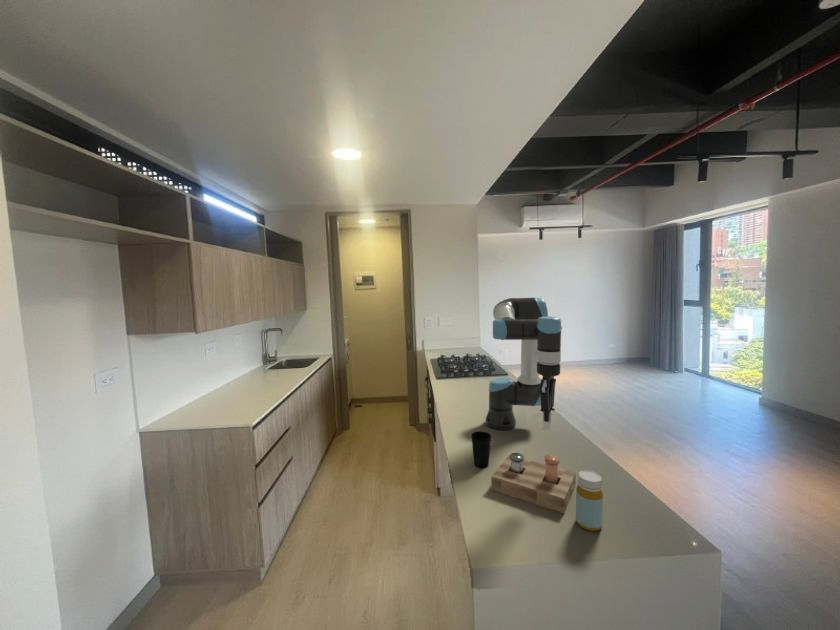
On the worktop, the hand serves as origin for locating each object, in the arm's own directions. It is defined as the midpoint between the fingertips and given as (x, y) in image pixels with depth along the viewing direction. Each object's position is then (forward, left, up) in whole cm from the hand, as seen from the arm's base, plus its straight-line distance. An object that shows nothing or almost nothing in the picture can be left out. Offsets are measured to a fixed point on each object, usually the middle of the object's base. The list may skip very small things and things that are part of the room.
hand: (547, 429), depth 121 cm
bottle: (+13, +15, -21) cm, 29 cm away
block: (+3, -4, -21) cm, 22 cm away
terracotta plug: (+3, +2, -18) cm, 18 cm away
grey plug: (+3, -10, -20) cm, 22 cm away
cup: (-2, -26, -21) cm, 33 cm away
